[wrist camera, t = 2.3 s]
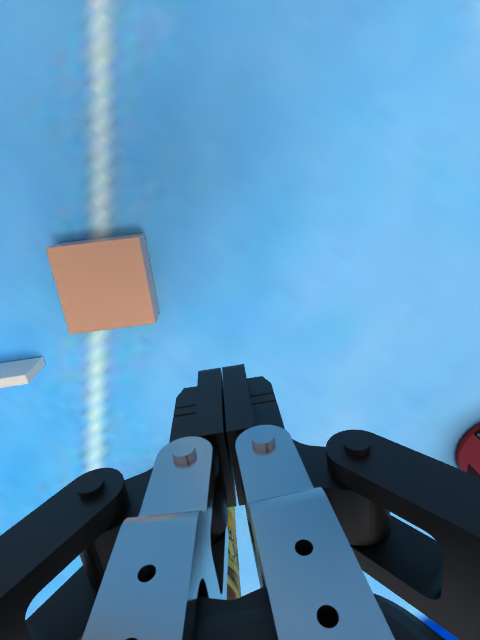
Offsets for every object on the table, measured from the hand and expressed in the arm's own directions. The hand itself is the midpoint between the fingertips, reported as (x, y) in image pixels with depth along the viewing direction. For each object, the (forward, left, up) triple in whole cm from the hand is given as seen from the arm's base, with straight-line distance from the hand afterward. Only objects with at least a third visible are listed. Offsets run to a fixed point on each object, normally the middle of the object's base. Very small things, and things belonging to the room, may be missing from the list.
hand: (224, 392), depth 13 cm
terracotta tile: (0, -9, -22) cm, 24 cm away
